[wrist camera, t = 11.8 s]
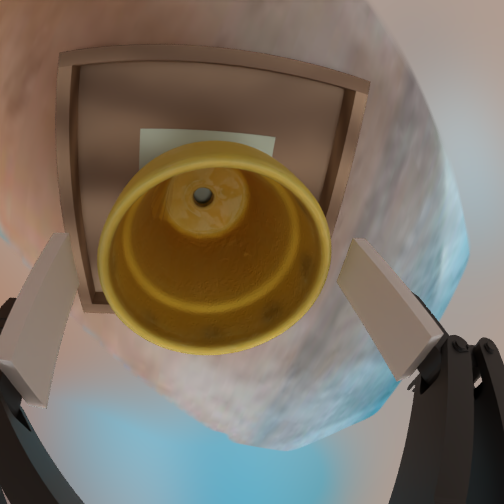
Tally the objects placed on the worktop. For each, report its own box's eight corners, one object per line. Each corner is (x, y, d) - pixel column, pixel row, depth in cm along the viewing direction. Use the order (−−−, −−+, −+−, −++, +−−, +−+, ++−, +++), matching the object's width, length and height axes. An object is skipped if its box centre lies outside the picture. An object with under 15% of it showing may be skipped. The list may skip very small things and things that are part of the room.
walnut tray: (72, 54, 13) (59, 52, 11) (353, 79, 18) (370, 81, 16) (89, 294, 23) (83, 312, 22) (299, 292, 29) (307, 309, 27)
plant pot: (101, 198, 18) (54, 287, 10) (207, 88, 16) (228, 93, 8) (202, 277, 24) (217, 378, 16) (301, 194, 22) (368, 270, 14)
